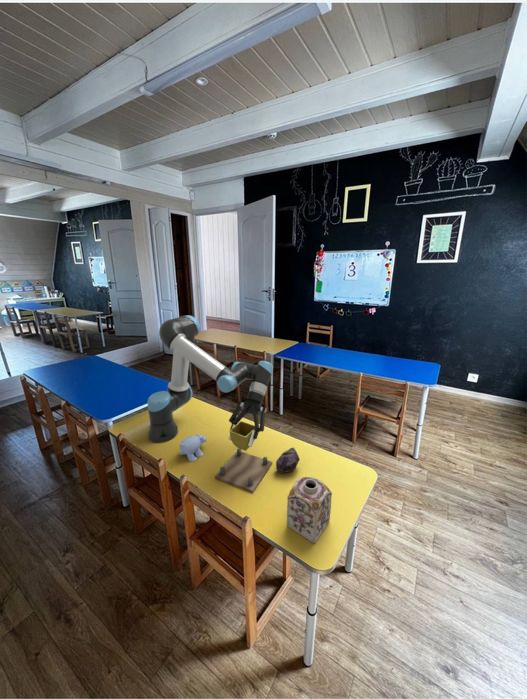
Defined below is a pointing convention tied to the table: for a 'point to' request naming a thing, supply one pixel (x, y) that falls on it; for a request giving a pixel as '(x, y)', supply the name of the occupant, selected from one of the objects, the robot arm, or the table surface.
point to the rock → (287, 461)
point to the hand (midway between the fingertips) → (239, 443)
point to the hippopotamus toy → (192, 446)
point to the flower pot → (242, 435)
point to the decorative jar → (309, 507)
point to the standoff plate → (244, 470)
